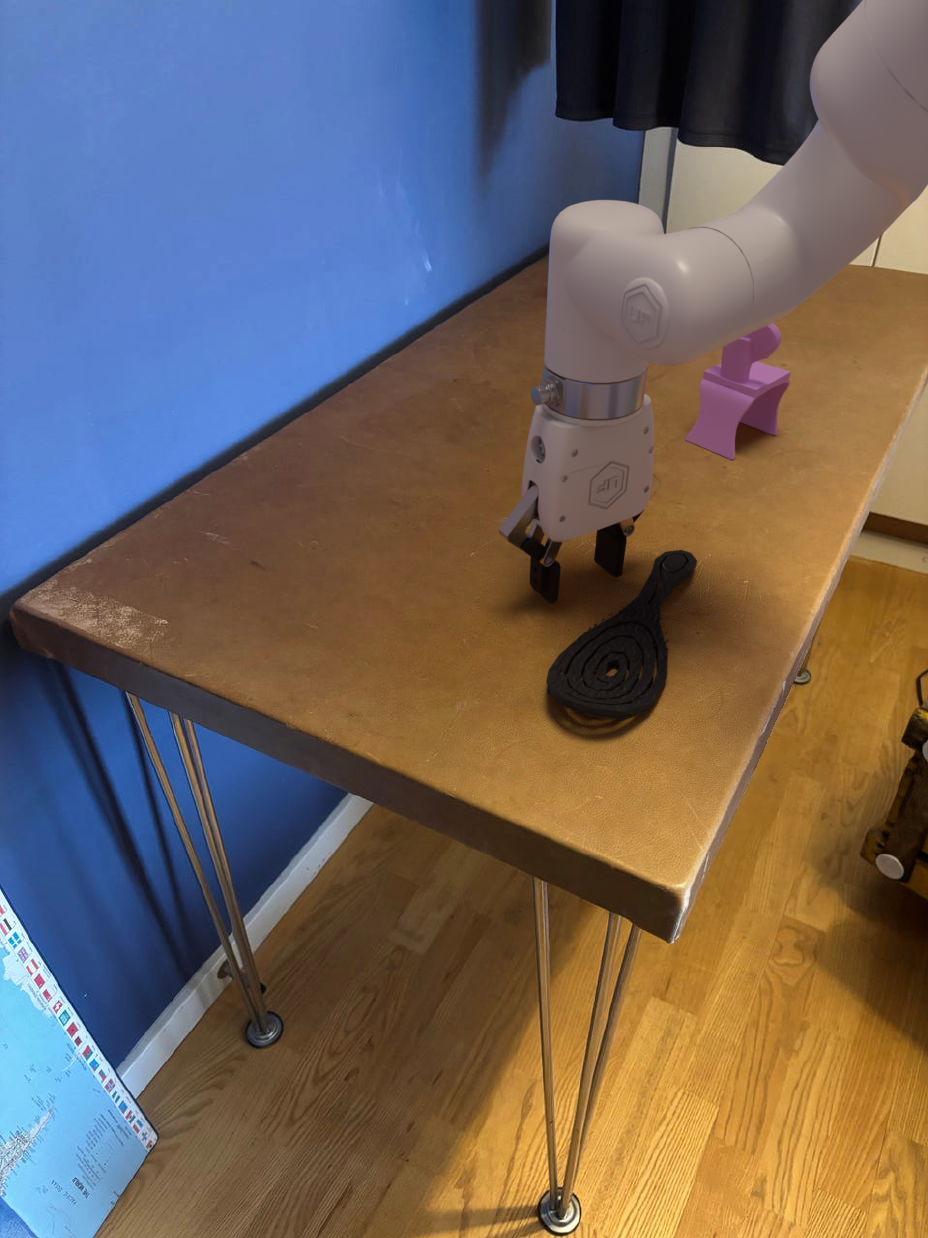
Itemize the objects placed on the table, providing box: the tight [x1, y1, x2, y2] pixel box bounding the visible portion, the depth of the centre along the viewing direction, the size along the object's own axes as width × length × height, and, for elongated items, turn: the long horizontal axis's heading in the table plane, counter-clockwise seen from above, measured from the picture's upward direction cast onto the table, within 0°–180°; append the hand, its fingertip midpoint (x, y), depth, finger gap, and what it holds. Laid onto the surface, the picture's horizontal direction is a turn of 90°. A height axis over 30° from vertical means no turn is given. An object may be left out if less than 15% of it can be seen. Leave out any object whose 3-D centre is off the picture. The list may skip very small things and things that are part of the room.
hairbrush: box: [545, 549, 698, 721], centre depth 73 cm, size 8×4×25 cm
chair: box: [684, 323, 792, 461], centre depth 95 cm, size 8×9×15 cm
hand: (576, 580), depth 78 cm, fingers open, 6 cm apart
